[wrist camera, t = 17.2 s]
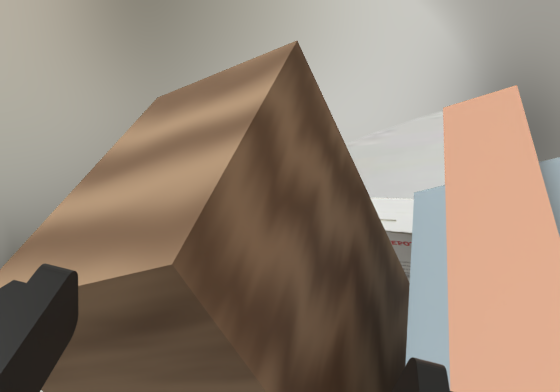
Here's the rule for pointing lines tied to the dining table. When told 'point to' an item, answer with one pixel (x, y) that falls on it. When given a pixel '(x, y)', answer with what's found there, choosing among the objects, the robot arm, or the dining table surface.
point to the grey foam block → (443, 269)
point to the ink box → (397, 226)
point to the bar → (499, 251)
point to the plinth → (227, 249)
